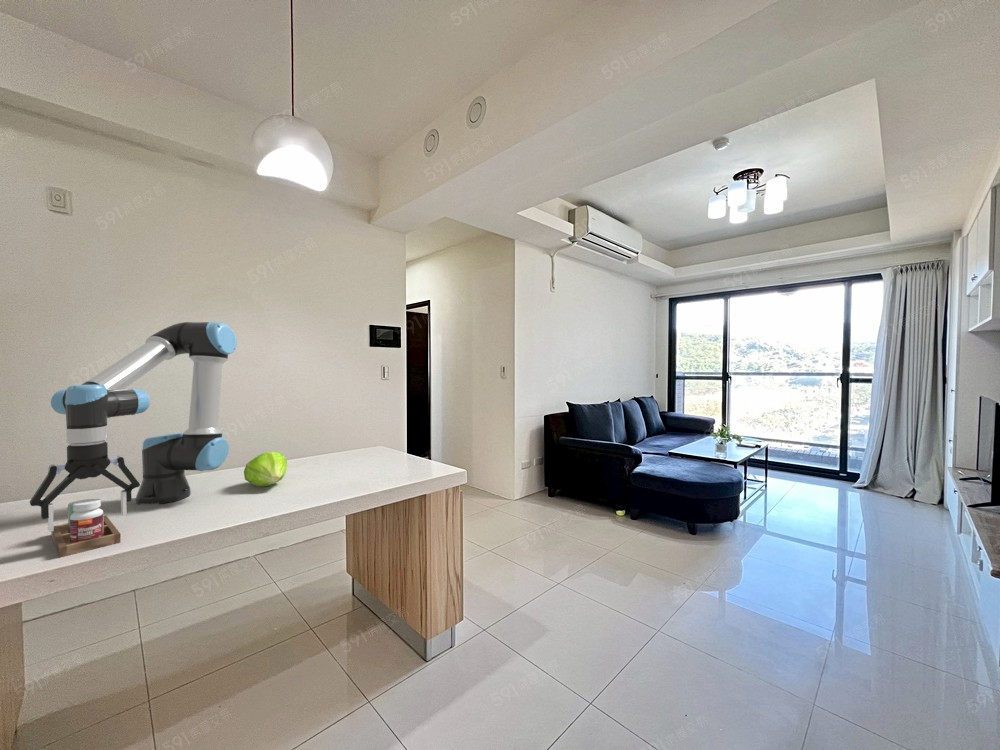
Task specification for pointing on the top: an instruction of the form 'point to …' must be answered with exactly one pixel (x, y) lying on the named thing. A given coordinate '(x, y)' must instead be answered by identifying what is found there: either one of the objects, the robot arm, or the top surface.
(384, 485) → the top surface
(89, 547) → the crate
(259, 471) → the lettuce
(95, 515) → the pill bottle
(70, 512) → the soap bar
